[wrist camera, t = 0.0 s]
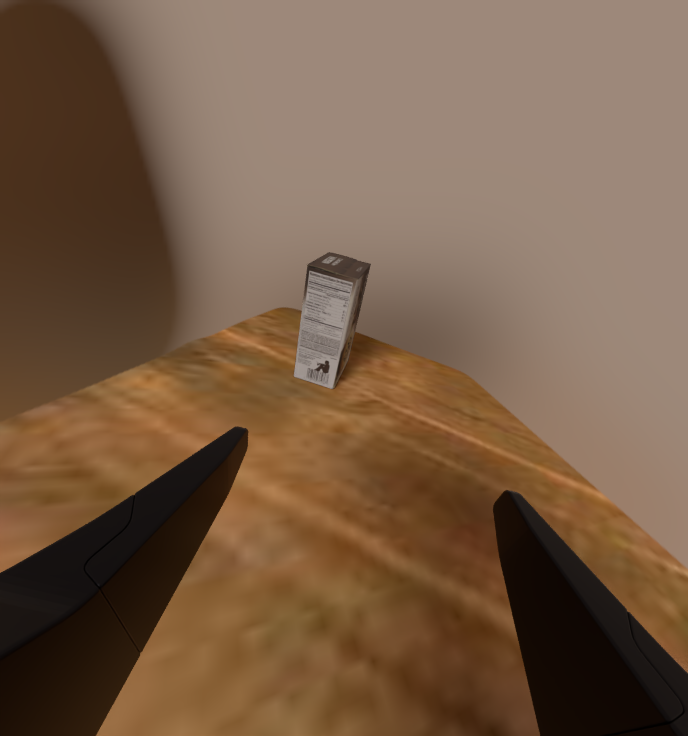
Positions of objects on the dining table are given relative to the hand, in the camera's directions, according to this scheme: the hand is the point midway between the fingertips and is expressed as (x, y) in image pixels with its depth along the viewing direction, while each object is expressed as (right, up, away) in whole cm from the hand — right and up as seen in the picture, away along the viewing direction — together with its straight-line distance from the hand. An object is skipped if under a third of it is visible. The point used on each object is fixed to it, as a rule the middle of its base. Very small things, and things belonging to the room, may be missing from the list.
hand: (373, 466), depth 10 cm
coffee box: (-4, +3, +35) cm, 35 cm away
